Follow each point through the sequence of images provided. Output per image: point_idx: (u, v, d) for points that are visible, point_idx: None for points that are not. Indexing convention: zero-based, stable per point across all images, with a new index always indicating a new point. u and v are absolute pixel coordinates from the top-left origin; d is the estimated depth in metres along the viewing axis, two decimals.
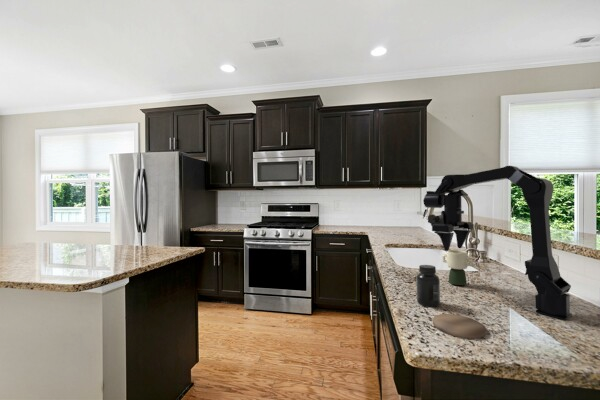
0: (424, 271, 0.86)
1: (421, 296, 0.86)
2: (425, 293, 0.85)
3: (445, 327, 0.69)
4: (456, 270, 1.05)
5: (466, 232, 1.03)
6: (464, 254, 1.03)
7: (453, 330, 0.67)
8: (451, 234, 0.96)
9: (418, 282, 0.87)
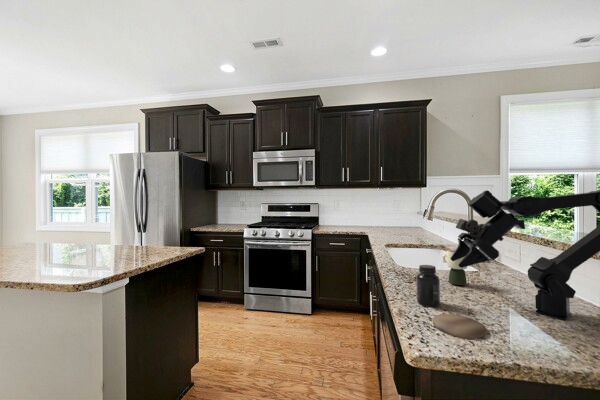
0: (424, 271, 0.86)
1: (421, 296, 0.86)
2: (425, 293, 0.85)
3: (445, 327, 0.69)
4: (456, 270, 1.05)
5: None
6: None
7: (453, 330, 0.67)
8: None
9: (418, 282, 0.87)
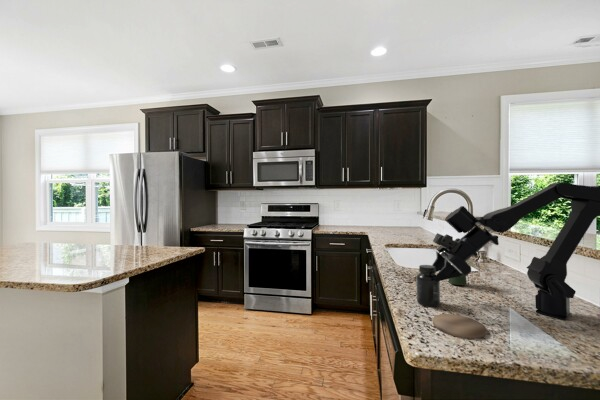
0: (424, 271, 0.86)
1: (421, 296, 0.86)
2: (425, 293, 0.85)
3: (445, 327, 0.69)
4: None
5: None
6: None
7: (453, 330, 0.67)
8: None
9: (418, 282, 0.87)
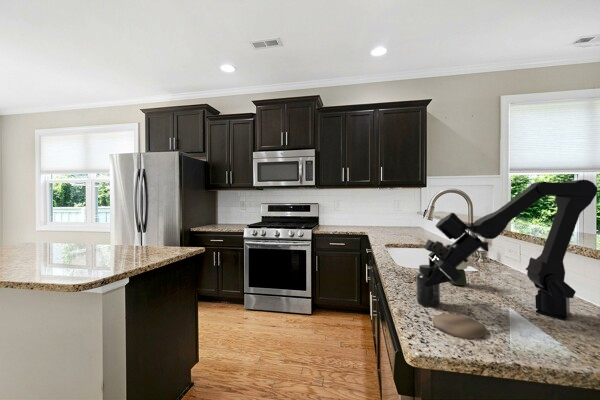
0: (424, 271, 0.86)
1: (421, 296, 0.86)
2: (425, 293, 0.85)
3: (445, 327, 0.69)
4: None
5: None
6: None
7: (453, 330, 0.67)
8: None
9: (418, 282, 0.87)
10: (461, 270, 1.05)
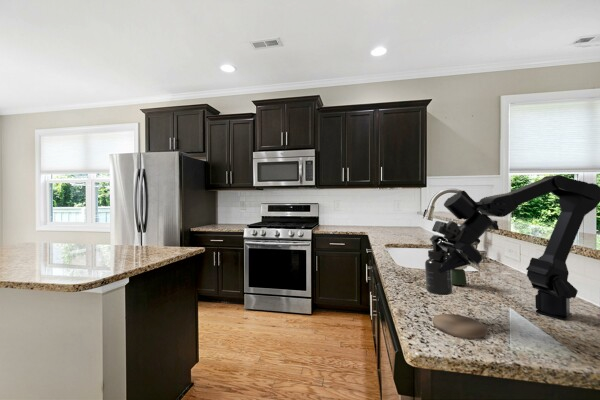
0: (436, 256, 0.77)
1: (434, 284, 0.76)
2: (439, 280, 0.76)
3: (445, 327, 0.69)
4: (456, 270, 1.05)
5: (447, 256, 0.83)
6: None
7: (453, 330, 0.67)
8: None
9: (429, 269, 0.78)
10: (461, 270, 1.05)
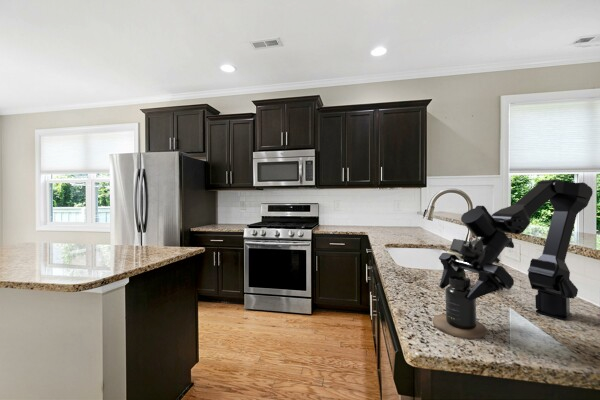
0: (462, 285, 0.68)
1: (460, 318, 0.67)
2: (466, 313, 0.67)
3: (445, 327, 0.69)
4: None
5: (457, 275, 0.77)
6: None
7: (453, 330, 0.67)
8: None
9: (455, 300, 0.68)
10: None
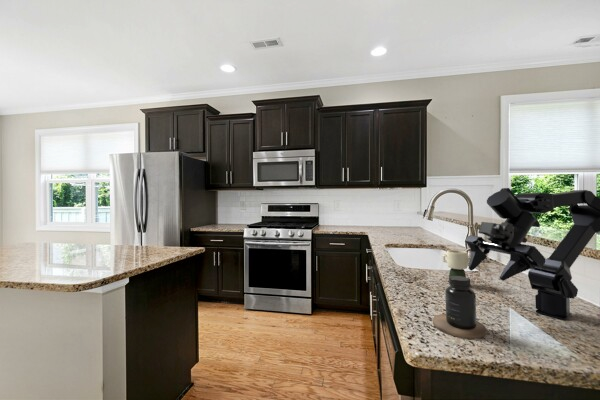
0: (462, 285, 0.68)
1: (460, 318, 0.67)
2: (466, 313, 0.67)
3: (445, 327, 0.69)
4: (456, 270, 1.05)
5: (485, 257, 0.79)
6: (464, 254, 1.03)
7: (453, 330, 0.67)
8: None
9: (454, 300, 0.68)
10: (461, 270, 1.05)
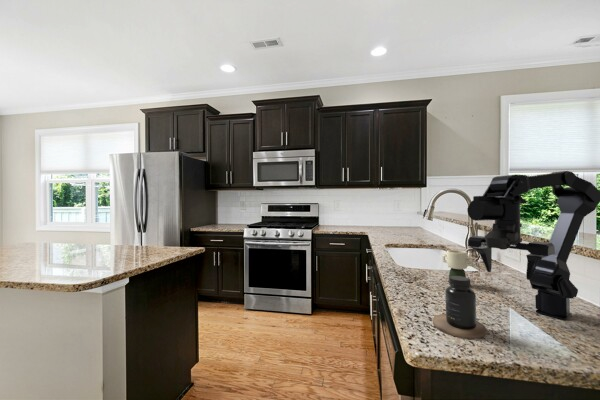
0: (462, 285, 0.68)
1: (460, 318, 0.67)
2: (466, 313, 0.67)
3: (445, 327, 0.69)
4: (456, 270, 1.05)
5: (490, 249, 0.81)
6: (464, 254, 1.03)
7: (453, 330, 0.67)
8: None
9: (454, 300, 0.68)
10: (461, 270, 1.05)
